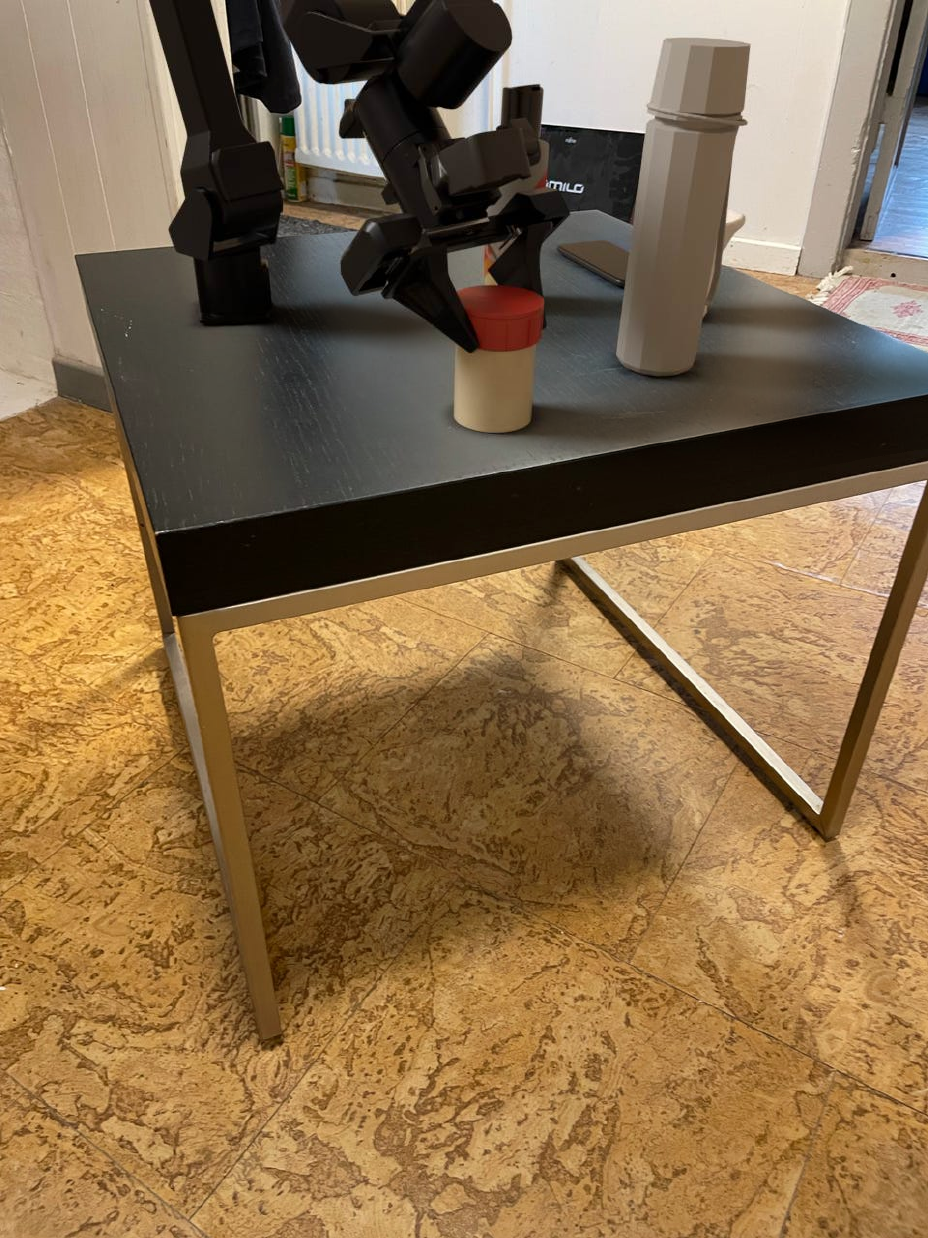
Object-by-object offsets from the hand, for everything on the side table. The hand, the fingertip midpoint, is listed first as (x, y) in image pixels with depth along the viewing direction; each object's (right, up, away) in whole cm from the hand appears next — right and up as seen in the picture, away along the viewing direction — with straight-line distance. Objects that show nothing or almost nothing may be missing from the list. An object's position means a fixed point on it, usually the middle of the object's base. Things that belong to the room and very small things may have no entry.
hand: (509, 340), depth 70 cm
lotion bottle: (+1, +12, +27) cm, 30 cm away
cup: (+19, +11, +27) cm, 34 cm away
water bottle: (+15, +2, +15) cm, 21 cm away
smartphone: (+14, +20, +39) cm, 46 cm away
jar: (-1, -5, +5) cm, 7 cm away
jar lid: (-1, +2, -1) cm, 3 cm away
